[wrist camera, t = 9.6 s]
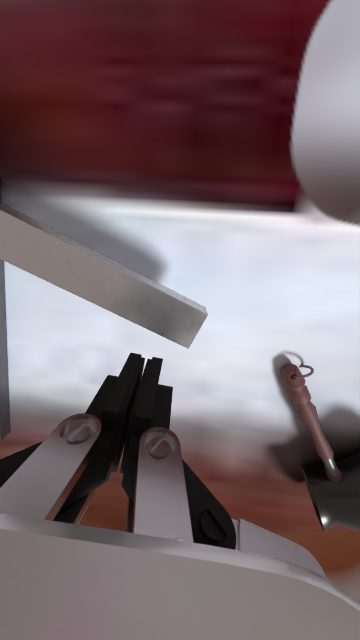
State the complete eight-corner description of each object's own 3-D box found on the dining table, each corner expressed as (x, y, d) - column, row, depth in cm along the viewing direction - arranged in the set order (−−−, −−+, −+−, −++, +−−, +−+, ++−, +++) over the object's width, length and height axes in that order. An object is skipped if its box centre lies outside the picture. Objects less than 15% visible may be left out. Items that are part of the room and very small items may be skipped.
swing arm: (-125, 186, 14) (-237, 161, 11) (-121, 122, 13) (-244, 68, 10) (183, 335, 17) (182, 358, 13) (207, 292, 16) (214, 303, 12)
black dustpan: (391, 485, 23) (306, 490, 25) (358, 333, 20) (268, 353, 23) (466, 582, 16) (339, 576, 18) (430, 366, 13) (287, 390, 15)
